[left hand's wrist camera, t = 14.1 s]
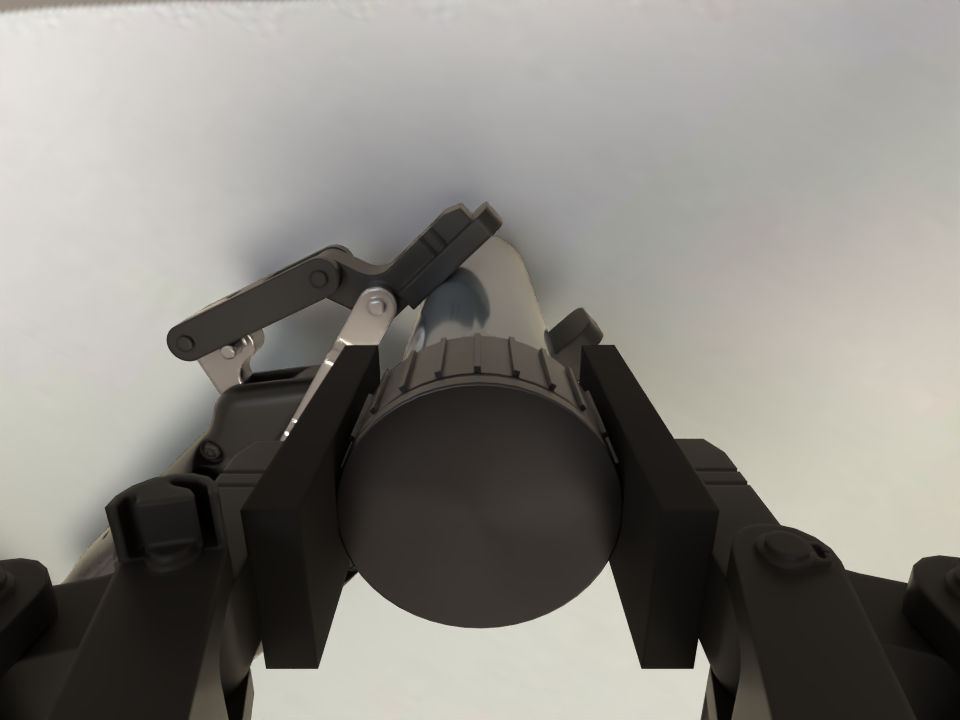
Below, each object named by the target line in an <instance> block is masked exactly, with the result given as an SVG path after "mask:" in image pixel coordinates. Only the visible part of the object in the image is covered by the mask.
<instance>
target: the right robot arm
mask: <svg viewBox="0 0 960 720" xmlns="http://www.w3.org/2000/svg"><path fill="white" fill-rule="evenodd" d="M502 224H503V222H502V219H501V217H500V216H499V215H498V214H497V212H496V211H495V210H494V209H493V208H492V207H491V206H490V205H489V204H488V203H487V202H485V203H483V204H482V205H481V206H480V207H479V208H478V209H477V210H476V211H475V212H474V213H473V214H472V213H471V212H470V211H469V210H468V209H467V208H466V207H465V206H464V205H463V204H462V203H460V204H458V205H455V206H453V207H450V208H448V209H446V210H445V211H444V212H443V213H442V214H441V215H440V216H439V217H438V218H437V219H436V220H435V221H434V222H433V223H432V224H431V225H430V226H429V227H428V228H427V229H425V231H424V232H422V233H421V234H420V235H419V236H418V237H417V238H416V239H415V240H414V241H413V242H412V243H411V244H410V245H409V246H408V247H407V248H406V249H405V250H404V251H403V252H402V253H401V254H400V255H399V256H398V257H397V258H396V259H395V260H394V261H393V262H391V263H389V264H387V265H383V266H375V265H371V264H368V263H366V262H364V261H362V260H360V259H358V258H356V257H354V256H353V254H352V253H351V252H350V251H349V250H348V249H347V248H346V247H344V246H341V245H330V246H328V247H326V248H323V249H321V250H319V251H317V252H315V253H313V254H311V255H309V256H307V257H305V258H303V259H301V260H299V261H297V262H295V263H293V264H291V265H289V266H287V267H285V268H283V269H281V270H279V271H277V272H275V273H273V274H271V275H269V276H267V277H265V278H263V279H261V280H259V281H257V282H255V283H253V284H251V285H249V286H247V287H245V288H243V289H241V290H238V291H236V292H234V293H232V294H230V295H228V296H226V297H224V298H222V299H220V300H218V301H216V302H214V303H212V304H210V305H208V306H207V307H205V308H203V309H202V310H200V311H199V312H197V313H195V314H194V315H192V316H190V317H189V318H187V319H186V320H184V321H183V322H181V323H179V324H178V325H176V326H175V327H173V328H172V329H171V330H170V331H169V333H168V335H167V345H168V348H169V350H170V351H171V352H172V353H173V355H175V356H176V357H177V358H179V359H181V360H184V361H195V360H197V361H198V362H199V364H200V365H201V366H202V368H203V369H204V371H205V372H206V374H207V375H208V377H209V378H210V380H211V381H212V383H213V384H214V386H215V387H216V389H217V390H218V391H219V393H220V394H221V396H220V397H219V398H218V400H217V402H216V404H215V408H214V414H213V419H212V422H211V425H210V427H209V428H208V429H207V430H206V431H205V432H204V433H203V434H202V435H201V436H200V437H199V438H198V439H197V440H196V441H195V442H194V443H193V444H192V445H191V446H190V447H189V448H188V449H187V450H186V451H185V452H184V453H183V454H182V455H181V456H180V457H179V458H178V459H177V460H176V461H175V462H174V463H173V464H172V465H171V466H170V467H169V468H168V469H167V470H166V471H165V472H164V473H163V474H162V475H161V476H166V475H171V474H184V473H195V474H199V475H204V476H208V477H210V478H211V479H212V480H214V481H215V480H216V479H217V478H218V476H219V475H220V474H223V470H224V469H225V467H226V466H227V465H228V463H229V462H230V461H231V459H232V458H233V457H234V455H235V454H237V453H238V452H240V451H241V450H243V449H245V448H246V447H248V446H249V445H251V444H252V443H254V442H256V441H284V440H285V439H286V437H287V436H288V434H289V433H290V431H291V429H292V428H293V426H294V425H295V423H296V422H297V420H298V419H299V417H300V415H301V414H302V412H303V411H304V409H305V408H306V406H307V404H308V403H309V401H310V400H311V398H312V397H313V395H314V393H315V392H316V390H317V389H318V387H319V386H320V384H321V382H322V381H323V379H324V378H325V376H326V375H327V373H328V371H329V370H330V368H331V367H332V365H333V364H334V362H335V361H336V359H337V357H338V356H339V354H340V353H341V351H342V350H343V348H344V346H345V345H379V343H380V341H381V339H382V338H383V336H384V334H385V332H386V331H387V329H388V327H389V325H390V324H391V322H392V320H393V318H395V317H396V316H397V315H398V314H399V313H400V312H401V311H402V310H403V309H404V308H405V307H406V306H407V305H409V306H410V307H411V308H412V309H413V310H414V309H415V308H416V307H417V306H418V305H419V304H420V303H421V302H422V301H424V300H425V299H426V298H427V297H428V296H429V295H430V294H431V292H432V291H434V290H435V289H436V288H437V287H438V286H439V285H440V284H442V283H443V282H444V281H445V280H446V279H447V278H448V277H449V276H450V275H451V274H452V273H453V272H454V271H455V270H456V269H457V268H459V267H460V266H461V265H462V264H463V263H464V262H465V261H466V260H467V259H468V258H469V257H470V256H471V255H472V254H473V253H474V252H475V251H477V250H478V249H479V248H480V247H481V246H482V245H483V244H484V243H485V242H486V241H487V240H488V239H489V238H490V237H491V236H492V235H493V234H494V233H495V232H496V231H497V230H498V229H499V228H500V227H501V225H502ZM325 298H328V299H330V300H332V301H334V302H336V303H338V304H340V305H343V306H345V307H347V308H349V309H351V310H352V311H351V313H350V315H349V317H348V319H347V320H346V322H345V324H344V326H343V328H342V330H341V331H340V333H339V335H338V337H337V339H336V341H335V342H334V344H333V346H332V347H331V349H330V351H329V352H328V354H327V356H326V358H325V359H324V361H323V363H322V364H321V365H313V366H304V367H296V368H288V369H279V370H271V371H263V372H254V373H252V371H251V369H250V359H251V357H252V356H253V355H254V354H255V353H256V352H257V351H258V350H259V349H260V348H261V347H262V345H263V343H264V333H263V330H262V328H264V327H266V326H268V325H271V324H273V323H275V322H277V321H279V320H281V319H283V318H285V317H287V316H289V315H291V314H294V313H296V312H298V311H300V310H302V309H304V308H306V307H308V306H310V305H312V304H314V303H316V302H319V301H321V300H323V299H325ZM548 333H549V336H550V339H551V342H552V345H553V348H554V351H555V354H556V356H557V359H558V362H559V363H560V364H561V365H562V366H563V367H565V368H567V367H568V366H569V367H570V368H571V369H572V371H573V373H574V376H575V378H576V380H577V381H578V382H579V379H580V363H581V347H582V345H598V344H599V343H600V342H601V340H602V338H603V333H602V332H601V330H600V328H599V327H598V325H597V324H596V322H595V321H594V320H593V319H592V318H591V317H590V316H589V314H588V313H587V312H586V311H585V310H584V309H583V308H578V309H576V310H574V311H573V312H572V313H570V314H569V315H568V316H567V317H566V318H564V319H563V320H562V321H561V322H560V323H559V324H557V325H556V326H555V327H554V328H553V329H552V330H551V331H549V332H548ZM161 476H160V477H161ZM118 563H119V561H118V557H117V553H116V549H115V545H114V541H113V537H112V533H111V530H110V526H109V527H108V528H107V529H106V530H105V531H104V532H103V533H102V534H101V535H100V536H99V537H98V538H97V539H96V540H95V541H94V542H93V544H92V545H91V546H90V547H89V548H88V549H87V550H86V551H85V553H84V554H83V555H82V557H81V558H80V559H79V561H78V562H77V564H76V565H75V566H74V568H73V569H72V571H71V572H70V574H69V575H68V576H67V578H66V579H65V580H64V581H63V582H62V583H61V584H65V583H70V582H74V581H79V580H84V579H89V578H94V577H99V576H103V575H106V574H110V573H114V571H115V569H116V567H117V565H118ZM357 573H358V570H357V569H356V568H355V566H354V565H353V563H352V562H351V561H350V565H349V568H348V571H347V575H346V578H345V581H344V585H345V584H347V583H348V582H349V581H350V580H351V579H352V578H353V577H354V576H355V575H356V574H357ZM344 585H343V586H344ZM262 652H263V646H262V640H261V642H260V645H259V647H258V649H257V651H256V654H255V656H254V658H253V660H254V659H255V658H256V657H258V656H259V655H260V654H261V653H262Z"/></svg>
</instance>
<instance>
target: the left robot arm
mask: <svg viewBox="0 0 960 720" xmlns="http://www.w3.org/2000/svg"><path fill="white" fill-rule="evenodd" d="M379 384H380V368H379V352H378V345H345V346H344V348H343V350H342V351H341V353H340V354H339V356H338V357H337V359H336V361H335V362H334V364H333V365H332V367H331V368H330V370H329V371H328V373H327V375H326V376H325V378H324V379H323V381H322V382H321V384H320V386H319V387H318V389H317V390H316V392H315V393H314V395H313V397H312V398H311V400H310V401H309V403H308V404H307V406H306V408H305V409H304V411H303V412H302V414H301V415H300V417H299V419H298V420H297V422H296V423H295V425H294V426H293V428H292V429H291V431H290V433H289V434H288V436H287V437H286V439H285V440H284V441H256V442H254V443H252V444H251V445H249V446H248V447H246V448H245V449H243V450H241V451H240V452H238V453H237V454H235V455H234V457H233V458H232V459H231V461H230V462H229V463H228V465H227V466H226V467H225V469H224V470H223V474H220V475H219V476H218V478H217V479H216V480H215V481H214V480H212V479H211V478H210V477H208V476H204V475H199V474H195V473H184V474H171V475H166V476H161V477H156V478H152V479H149V480H147V481H144V482H141V483H139V484H136V485H133V486H131V487H130V488H128V489H127V490H125V491H123V492H122V493H120V494H118V495H117V496H115V497H114V498H113V499H112V501H111V502H110V503H109V504H108V505H107V506H106V507H105V510H106V514H107V518H108V522H109V526H110V530H111V533H112V537H113V541H114V545H115V549H116V553H117V557H118V561H119V563H118V565H117V567H116V569H115V571H114V573H110V574H106V575H103V576H99V577H94V578H89V579H84V580H79V581H74V582H70V583H65V584H60V585H55V586H52V583H51V580H50V576H49V573H48V570H47V568H46V567H45V566H44V565H42V564H41V563H40V562H39V561H36V560H30V559H23V558H18V559H10V560H1V561H0V720H251V714H252V706H253V698H254V689H253V681H252V675H251V670H250V665H251V663H252V661H253V658H254V656H255V654H256V651H257V649H258V647H259V645H260V642H261V640H262V646H263V653H264V659H265V665H266V669H318V667H319V664H320V661H321V657H322V654H323V651H324V647H325V644H326V641H327V638H328V634H329V631H330V628H331V624H332V621H333V618H334V614H335V611H336V608H337V604H338V601H339V598H340V595H341V591H342V588H343V585H344V581H345V578H346V575H347V571H348V568H349V565H350V561H351V560H350V558H349V556H348V554H347V552H346V550H345V548H344V546H343V543H342V540H341V537H340V534H339V526H338V516H337V505H336V490H337V483H338V480H339V476H340V472H341V465H342V463H343V461H344V458H345V456H346V453H347V451H348V449H349V446H350V444H351V441H350V440H349V438H350V435H351V433H352V431H353V428H354V426H355V424H356V421H357V419H358V417H359V414H360V412H361V410H362V407H363V405H364V403H365V401H366V398H367V396H368V394H371V395H373V394H374V392H375V391H376V389H377V388H378V386H379ZM579 384H580V385H581V387H582V388H583V390H584V391H585V392H586V391H588V390H589V392H590V393H591V396H592V398H593V400H594V403H595V405H596V407H597V410H598V412H599V414H600V417H601V419H602V421H603V424H604V426H605V428H606V431H607V433H608V435H609V436H608V438H609V440H610V442H611V445H612V447H613V449H614V452H615V454H616V456H617V459H618V461H619V468H617V469H618V472H619V475H620V478H621V481H622V488H623V494H624V501H623V512H622V522H621V531H620V535H619V538H618V541H617V544H616V547H615V549H614V551H613V553H612V555H611V557H610V559H609V563H610V566H611V569H612V573H613V576H614V579H615V582H616V586H617V589H618V592H619V596H620V599H621V602H622V606H623V609H624V612H625V616H626V619H627V622H628V625H629V629H630V632H631V635H632V639H633V642H634V645H635V649H636V652H637V655H638V659H639V662H640V665H641V668H642V669H694V662H695V656H696V650H697V644H698V638H699V640H700V642H701V645H702V647H703V649H704V652H705V654H706V656H707V658H708V661H709V663H710V670H709V675H708V681H707V687H706V692H705V698H704V704H703V709H702V715H701V720H960V558H958V557H949V556H941V555H938V556H932V557H925V558H922V559H921V560H919V561H918V562H917V563H916V564H914V565H913V568H912V572H911V575H910V578H909V581H908V583H904V582H899V581H894V580H889V579H884V578H879V577H874V576H870V575H865V574H860V573H856V572H852V571H849V570H845V568H844V566H843V564H842V562H841V560H840V559H839V558H838V557H837V555H836V554H835V553H834V552H833V550H832V549H831V548H830V547H828V546H827V545H825V544H824V543H823V542H821V541H820V540H818V539H817V538H816V537H813V536H811V535H809V534H807V533H804V532H802V531H800V530H797V529H795V528H791V527H786V526H782V525H780V524H779V522H778V521H777V520H776V518H775V517H774V516H773V514H772V513H771V512H770V511H769V509H768V508H767V507H766V505H765V504H764V503H763V502H762V500H761V499H760V498H759V496H758V495H757V494H756V492H755V491H754V490H753V489H752V487H751V486H750V485H747V481H746V479H745V478H744V477H743V476H742V474H741V473H740V472H737V468H736V466H735V465H734V464H733V463H732V461H731V460H730V459H729V457H728V456H727V455H726V453H725V452H723V451H722V450H720V449H718V448H717V447H715V446H714V445H712V444H711V443H709V442H707V441H706V440H704V439H674V438H673V436H672V435H671V433H670V432H669V430H668V429H667V427H666V425H665V424H664V422H663V421H662V419H661V418H660V416H659V414H658V413H657V411H656V410H655V408H654V407H653V405H652V403H651V402H650V400H649V399H648V397H647V396H646V394H645V392H644V391H643V389H642V388H641V386H640V385H639V383H638V381H637V380H636V378H635V377H634V375H633V374H632V372H631V370H630V369H629V367H628V366H627V364H626V363H625V361H624V360H623V358H622V356H621V355H620V353H619V352H618V350H617V349H616V347H615V345H582V347H581V363H580V379H579Z"/></svg>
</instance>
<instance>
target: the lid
mask: <svg viewBox="0 0 960 720" xmlns="http://www.w3.org/2000/svg"><path fill="white" fill-rule="evenodd" d="M608 436H609V435H608V433H607V431H606V428H605V426H604V424H603V421H602V419H601V417H600V414H599V412H598V410H597V407H596V405H595V403H594V400H593V398H592V396H591V393H590V392H589V390H588V391H586V392H585V391H584V390H583V388H582V387H581V385H580V384H579V383H578V381H577V380H576V378H575V376H574V373H573V371H572V369H571V368H570V367H569V366H568V367H567V368H565V367H563V366H562V365H561V364H560V363H559V362H557V361H556V360H555V359H553V358H552V357H550V356H549V355H547V352H546V350H545V349H543V348H541V349H540V350H538V349H536V348H534V347H531V346H529V345H527V344H524V343H521V342H517V341H515V337H511V336H509V339H505V338H500V337H493V336H481V333H475V336H469V337H459V338H454V339H449V340H447V338H446V337H444V338H441V340H440V342H439V343H436V344H433V345H430V346H428V347H426V348H424V349H422V350H420V351H418V352H416V351H415V350H412V351H411V352H410V353H409V356H408V358H406V359H405V360H403V361H402V362H401V363H400V364H398V365H397V366H396V367H395V368H394V369H393V370H392V371H390V370H389V369H387V370H386V371H385V373H384V375H383V378H382V380H381V383H380V384H379V386H378V388H377V389H376V391H375V392H374V394H373V395H371V394H368V396H367V398H366V401H365V403H364V405H363V407H362V410H361V412H360V414H359V417H358V419H357V421H356V424H355V426H354V428H353V431H352V433H351V435H350V438H349V440H350V441H351V444H350V446H349V449H348V451H347V453H346V456H345V458H344V461H343V463H342V465H341V472H340V476H339V480H338V483H337V490H336V505H337V516H338V526H339V534H340V537H341V540H342V543H343V546H344V548H345V550H346V552H347V554H348V556H349V558H350V560H351V562H352V563H353V565H354V566H355V568H356V569H357V570H358V572H359V573H360V575H361V576H362V577H363V578H364V579H365V580H366V581H367V582H368V583H369V585H370V586H371V587H372V588H373V589H375V590H376V591H377V592H378V593H379V594H381V595H382V596H383V597H384V598H385V599H387V600H389V601H390V602H392V603H393V604H395V605H396V606H398V607H399V608H401V609H403V610H405V611H407V612H409V613H411V614H413V615H416V616H418V617H421V618H424V619H427V620H429V621H433V622H437V623H441V624H445V625H450V626H457V627H464V628H494V627H503V626H509V625H515V624H519V623H523V622H526V621H530V620H533V619H536V618H538V617H541V616H543V615H546V614H548V613H550V612H552V611H554V610H556V609H558V608H560V607H562V606H564V605H565V604H566V603H568V602H569V601H571V600H572V599H574V598H575V597H577V596H578V595H579V594H580V593H581V592H582V591H584V590H585V589H586V588H587V587H588V586H589V585H590V584H591V583H592V582H593V581H594V580H595V578H596V577H597V576H598V575H599V574H600V573H601V571H602V570H603V568H604V567H605V565H606V564H607V562H608V561H609V559H610V557H611V555H612V553H613V551H614V549H615V547H616V544H617V541H618V538H619V535H620V531H621V522H622V512H623V501H624V494H623V488H622V481H621V478H620V475H619V472H618V469H617V468H619V461H618V459H617V456H616V454H615V452H614V449H613V447H612V445H611V442H610V440H609V438H608Z"/></svg>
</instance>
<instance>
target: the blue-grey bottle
mask: <svg viewBox="0 0 960 720" xmlns="http://www.w3.org/2000/svg"><path fill="white" fill-rule="evenodd" d="M475 333H481V336H493V337H500V338H505V339H509V336H511V337H515V341H517V342H521V343H524V344H527V345H529V346H531V347H534V348H536V349H538V350H540V349H541V348H543V349H545V350H546V352H547V355H549V356H550V357H552V358H553V359H555V360H556V361H557V362H558V359H557V356H556V354H555V351H554V348H553V345H552V342H551V339H550V336H549V333H548V330H547V328H546V325H545V322H544V319H543V316H542V313H541V310H540V307H539V304H538V302H537V299H536V296H535V293H534V290H533V287H532V284H531V281H530V278H529V275H528V273H527V270H526V267H525V264H524V262H523V260H522V258H521V256H520V255H519V253H518V252H517V251H516V250H515V249H514V248H513V247H512V246H511V245H510V244H509V243H507V242H506V241H504V240H502V239H500V238H498V237H495V236H491V237H490V238H489V239H488V240H487V241H486V242H485V243H484V244H483V245H482V246H481V247H480V248H479V249H478V250H477V251H475V252H474V253H473V254H472V255H471V256H470V257H469V258H468V259H467V260H466V261H465V262H464V263H463V264H462V265H461V266H460V267H459V268H457V269H456V270H455V271H454V272H453V273H452V274H451V275H450V276H449V277H448V278H447V279H446V280H445V281H444V282H443V283H442V284H440V285H439V286H438V287H437V288H436V289H435V290H434V291H432V292H431V294H430V295H429V296H428V297H427V298H426V299H425V300H424V301H422V303H421V306H420V309H419V312H418V315H417V318H416V320H415V323H414V326H413V329H412V332H411V335H410V338H409V341H408V343H407V346H406V349H405V352H404V355H403V358H402V361H403V360H405V359H406V358H408V356H409V353H410V352H411V351H412V350H415V351H416V352H418V351H420V350H422V349H424V348H426V347H428V346H430V345H433V344H436V343H439V342H440V340H441V338H444V337H446V338H447V340H449V339H454V338H459V337H469V336H475ZM402 361H401V362H402Z"/></svg>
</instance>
